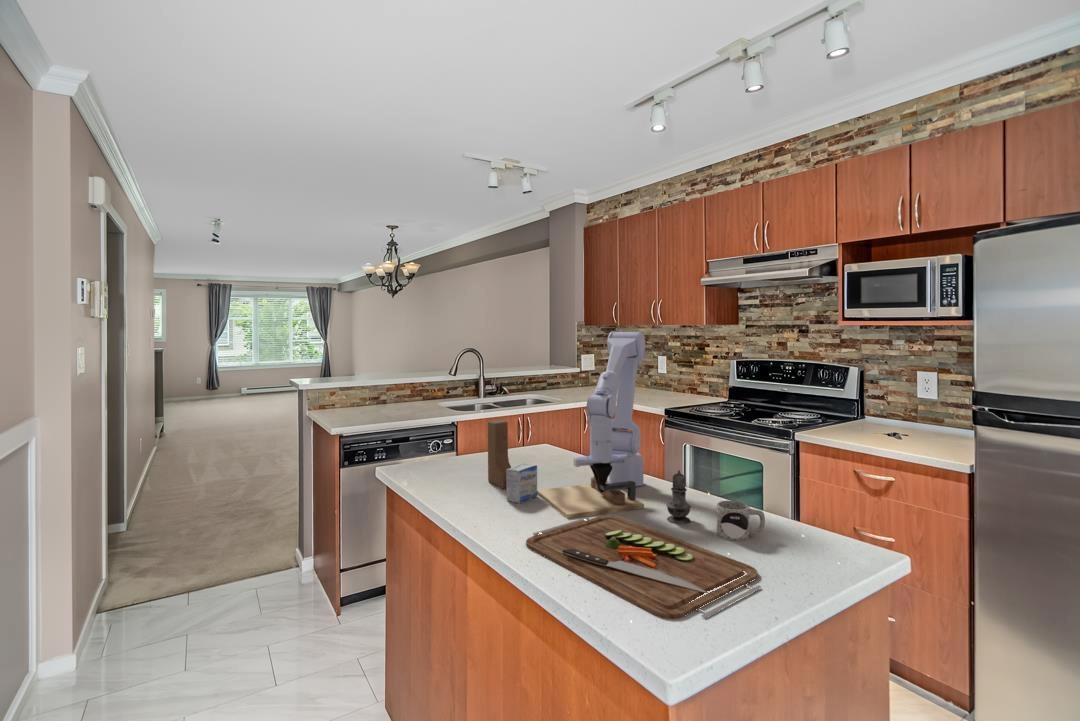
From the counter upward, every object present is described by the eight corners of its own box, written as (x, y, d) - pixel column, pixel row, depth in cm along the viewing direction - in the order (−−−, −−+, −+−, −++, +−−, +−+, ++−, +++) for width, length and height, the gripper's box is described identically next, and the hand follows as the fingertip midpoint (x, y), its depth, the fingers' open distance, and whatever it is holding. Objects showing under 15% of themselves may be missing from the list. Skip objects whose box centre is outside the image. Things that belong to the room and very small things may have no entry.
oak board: (605, 485, 160) (605, 482, 160) (644, 507, 141) (644, 504, 141) (536, 493, 153) (536, 490, 153) (567, 518, 133) (567, 514, 133)
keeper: (632, 501, 146) (632, 480, 146) (636, 503, 144) (636, 482, 144) (600, 505, 143) (600, 484, 142) (603, 508, 141) (603, 486, 140)
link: (589, 484, 157) (589, 473, 157) (602, 483, 158) (602, 472, 158) (613, 505, 139) (613, 492, 139) (628, 504, 140) (628, 491, 140)
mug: (719, 540, 120) (720, 509, 119) (714, 528, 126) (714, 500, 126) (768, 542, 118) (769, 511, 118) (760, 531, 125) (761, 501, 125)
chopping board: (778, 583, 101) (778, 566, 101) (684, 634, 85) (684, 614, 85) (603, 516, 137) (603, 503, 136) (513, 542, 120) (513, 528, 120)
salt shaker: (692, 525, 129) (692, 473, 128) (666, 523, 130) (666, 472, 129) (690, 516, 134) (691, 467, 134) (665, 515, 136) (666, 466, 135)
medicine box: (519, 504, 144) (519, 471, 144) (506, 501, 147) (505, 468, 147) (537, 496, 151) (537, 464, 150) (524, 493, 153) (524, 462, 153)
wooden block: (516, 486, 160) (516, 424, 159) (503, 489, 158) (502, 425, 156) (500, 479, 167) (500, 419, 166) (487, 481, 165) (486, 421, 164)
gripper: (580, 445, 141) (580, 498, 141) (633, 441, 145) (632, 493, 145) (571, 439, 147) (571, 490, 148) (621, 436, 151) (621, 485, 152)
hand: (600, 491), depth 147 cm, fingers closed
